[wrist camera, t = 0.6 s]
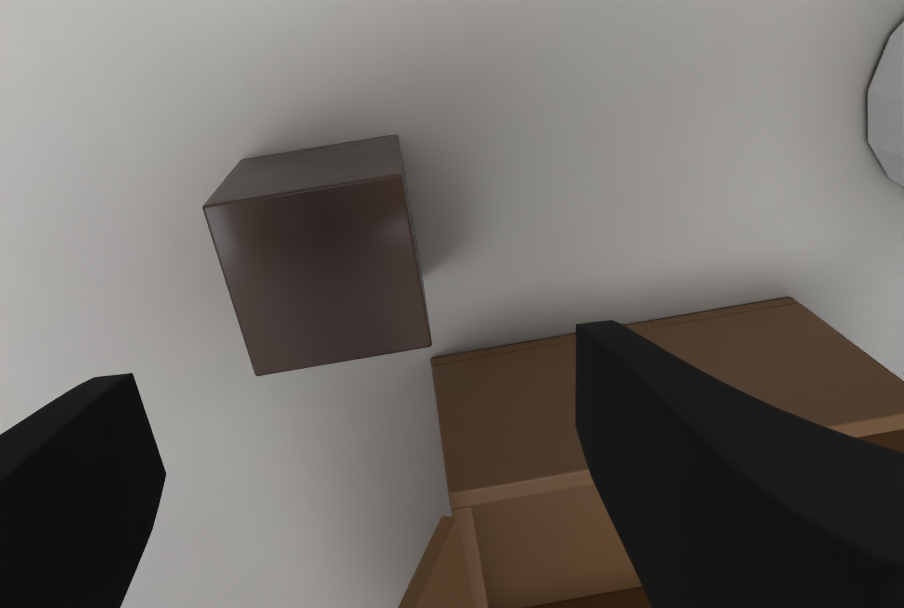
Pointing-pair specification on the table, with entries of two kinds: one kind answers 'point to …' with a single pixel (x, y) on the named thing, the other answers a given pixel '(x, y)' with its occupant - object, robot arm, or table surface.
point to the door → (441, 572)
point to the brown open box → (562, 459)
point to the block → (321, 255)
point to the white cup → (888, 108)
